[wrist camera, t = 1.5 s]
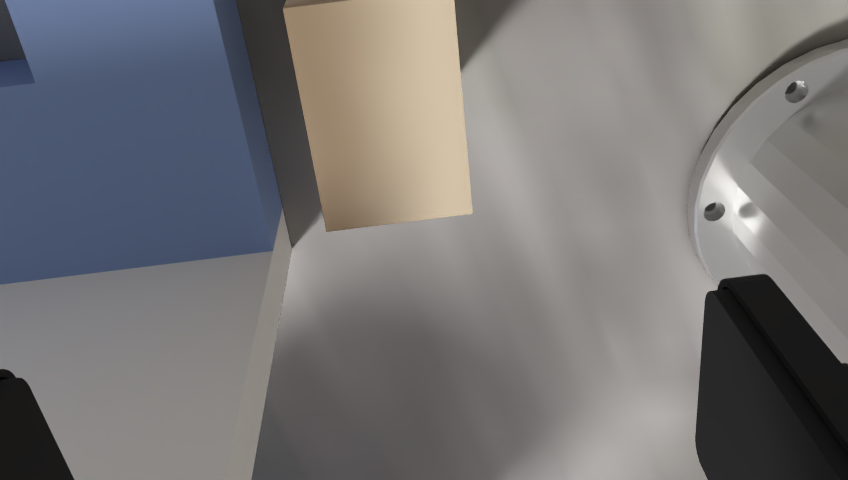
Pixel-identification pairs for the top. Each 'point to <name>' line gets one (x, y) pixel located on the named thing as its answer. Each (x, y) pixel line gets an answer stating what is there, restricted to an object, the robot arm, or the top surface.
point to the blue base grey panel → (139, 235)
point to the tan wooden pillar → (382, 108)
